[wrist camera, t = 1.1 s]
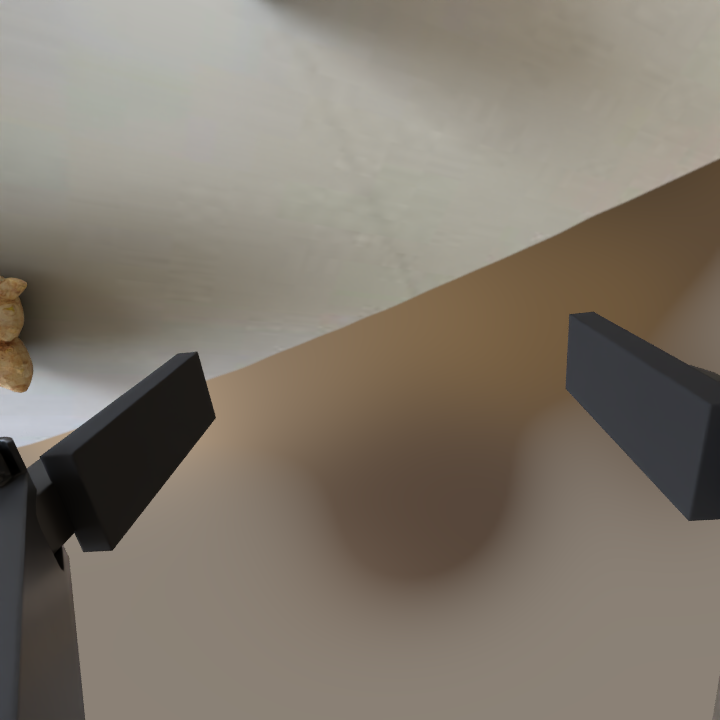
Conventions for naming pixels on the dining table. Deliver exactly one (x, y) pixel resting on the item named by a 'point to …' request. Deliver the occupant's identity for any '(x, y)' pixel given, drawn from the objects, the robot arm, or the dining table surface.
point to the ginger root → (13, 338)
